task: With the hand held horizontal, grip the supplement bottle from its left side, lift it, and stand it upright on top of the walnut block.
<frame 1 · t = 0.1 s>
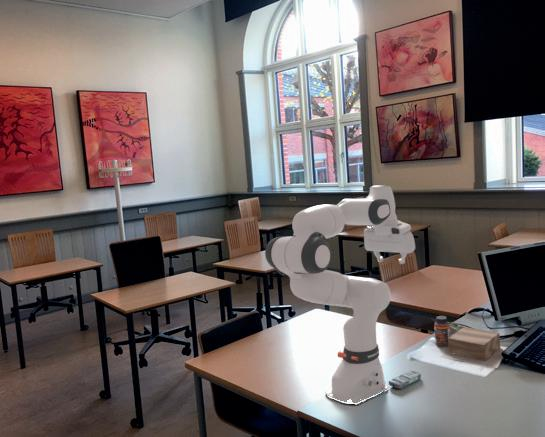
hand: (391, 262, 184), 39 cm above the table, tool pointing down, fingers open, 8 cm apart
walnut block: (474, 350, 190), on the table
supplement bottle: (443, 344, 200), on the table
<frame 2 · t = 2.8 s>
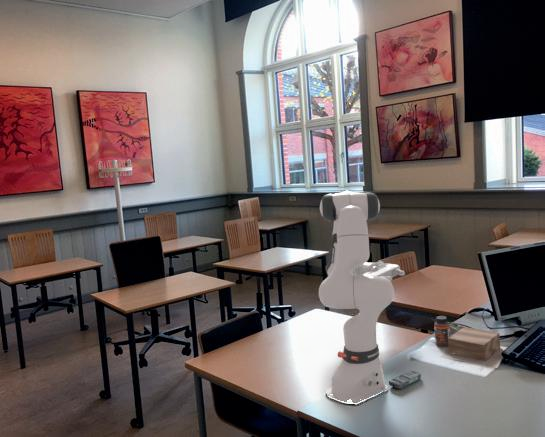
hand: (397, 276, 203), 29 cm above the table, tool horizontal, fingers open, 8 cm apart
nothing on the table moved.
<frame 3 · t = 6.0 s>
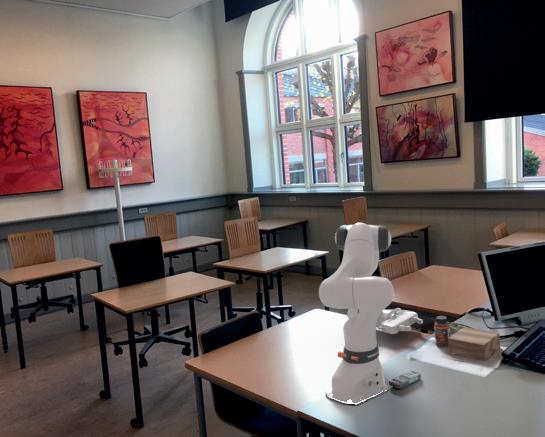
hand: (416, 325, 207), 6 cm above the table, tool horizontal, fingers open, 8 cm apart
nothing on the table moved.
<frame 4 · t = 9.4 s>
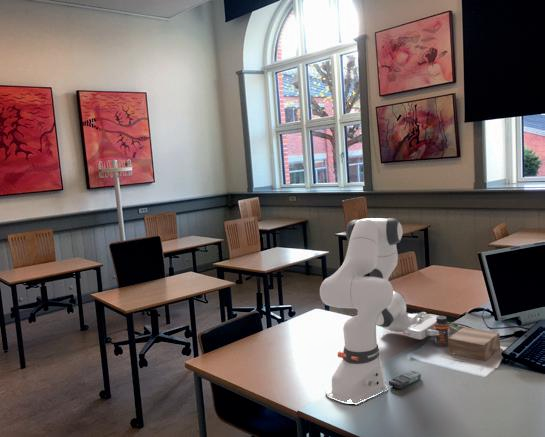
hand: (444, 330, 198), 6 cm above the table, tool horizontal, fingers closed on supplement bottle, 6 cm apart
supplement bottle: (443, 344, 200), on the table, touching gripper
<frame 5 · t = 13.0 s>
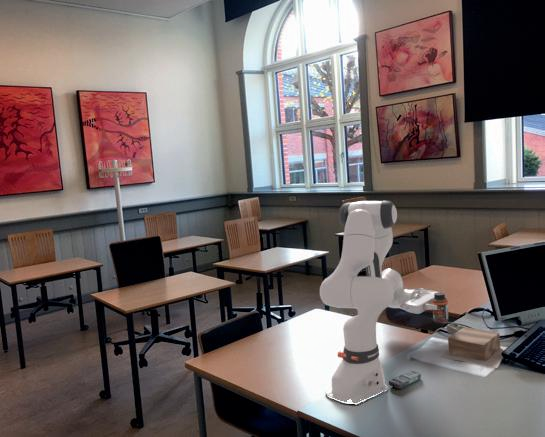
hand: (442, 304, 197), 17 cm above the table, tool horizontal, fingers closed on supplement bottle, 6 cm apart
supplement bottle: (441, 320, 199), point 10 cm above the table, touching gripper
when the fingers open (14 cm above the table, at t = 16.9 s): supplement bottle stays where it is, resting on walnut block.
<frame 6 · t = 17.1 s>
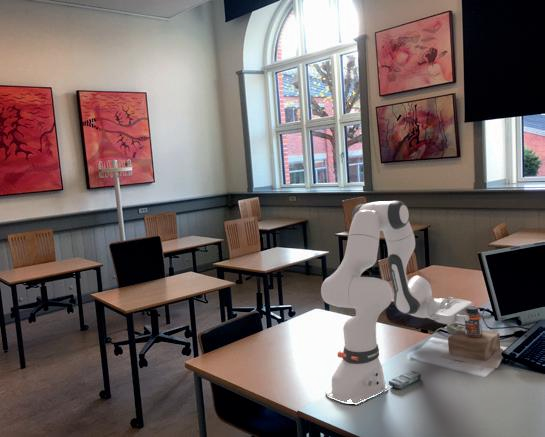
hand: (474, 314, 188), 14 cm above the table, tool horizontal, fingers open, 7 cm apart
supplement bottle: (473, 336, 189), point 6 cm above the table, touching walnut block
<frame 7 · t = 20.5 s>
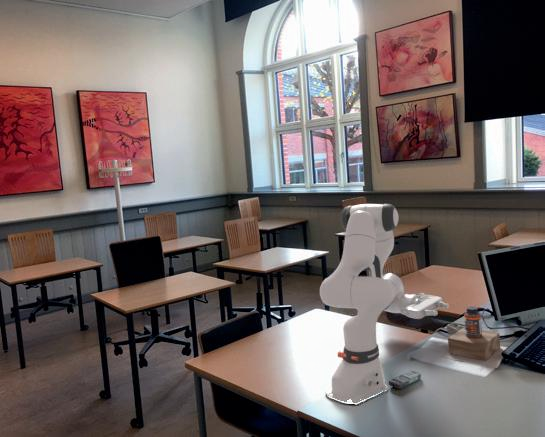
hand: (442, 309, 197), 15 cm above the table, tool horizontal, fingers open, 8 cm apart
nothing on the table moved.
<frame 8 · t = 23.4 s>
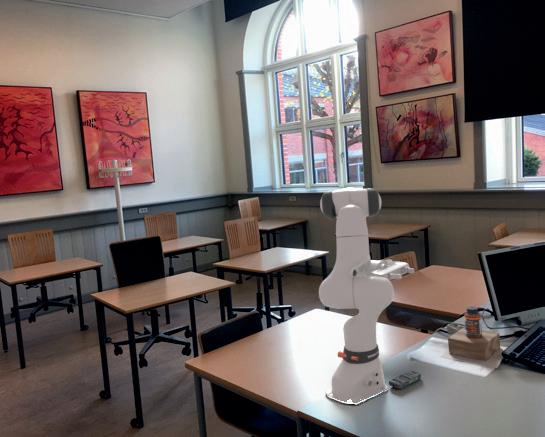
hand: (407, 273, 200), 30 cm above the table, tool horizontal, fingers open, 8 cm apart
nothing on the table moved.
at the end: supplement bottle inside the target area on the walnut block (0.3 cm from its centre), point 5.8 cm above the walnut block's base; supplement bottle tilted 0°; the gripper is holding nothing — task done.
